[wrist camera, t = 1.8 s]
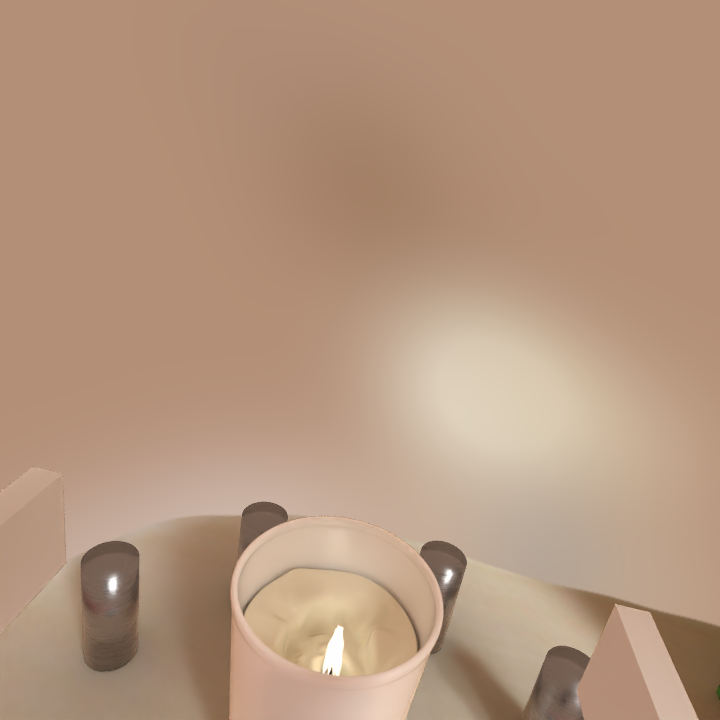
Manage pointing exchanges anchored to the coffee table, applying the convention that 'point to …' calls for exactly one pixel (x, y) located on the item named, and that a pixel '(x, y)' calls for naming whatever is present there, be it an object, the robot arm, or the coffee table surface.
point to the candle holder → (330, 623)
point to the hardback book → (718, 691)
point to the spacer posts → (121, 561)
